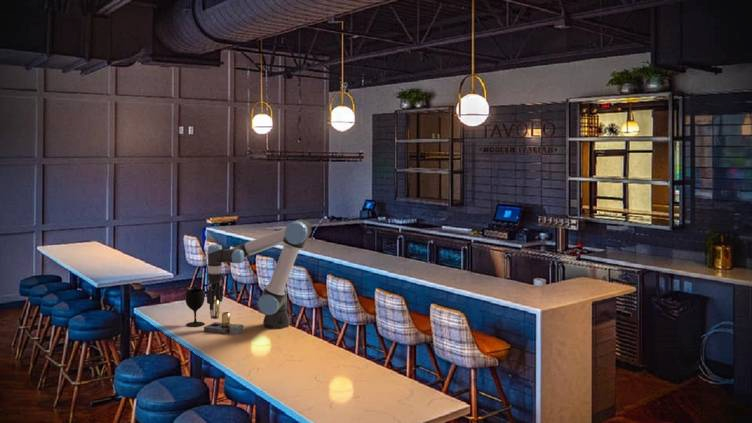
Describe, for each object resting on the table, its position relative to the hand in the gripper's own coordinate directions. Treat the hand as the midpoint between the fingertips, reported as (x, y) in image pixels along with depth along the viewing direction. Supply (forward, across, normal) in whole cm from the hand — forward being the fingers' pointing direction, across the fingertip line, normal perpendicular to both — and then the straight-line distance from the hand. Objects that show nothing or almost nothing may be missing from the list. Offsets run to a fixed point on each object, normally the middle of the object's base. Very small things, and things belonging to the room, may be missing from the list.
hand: (215, 314), depth 352 cm
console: (+9, +1, +14) cm, 17 cm away
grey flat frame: (+9, 0, +4) cm, 9 cm away
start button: (+6, +1, +14) cm, 16 cm away
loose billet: (+2, 0, 0) cm, 2 cm away
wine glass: (+9, -4, -16) cm, 19 cm away
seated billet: (+9, 0, +7) cm, 11 cm away
